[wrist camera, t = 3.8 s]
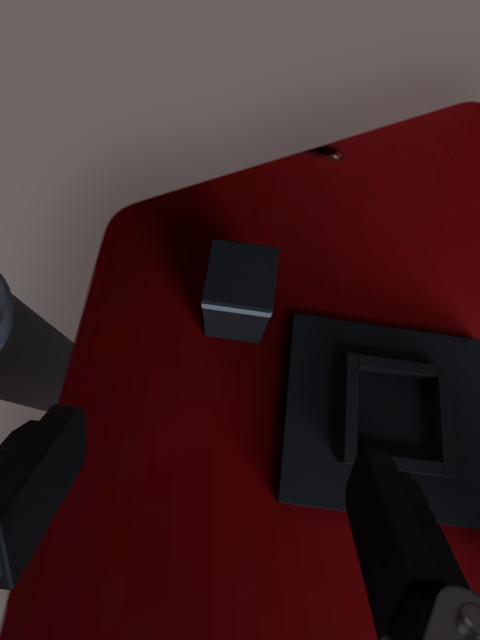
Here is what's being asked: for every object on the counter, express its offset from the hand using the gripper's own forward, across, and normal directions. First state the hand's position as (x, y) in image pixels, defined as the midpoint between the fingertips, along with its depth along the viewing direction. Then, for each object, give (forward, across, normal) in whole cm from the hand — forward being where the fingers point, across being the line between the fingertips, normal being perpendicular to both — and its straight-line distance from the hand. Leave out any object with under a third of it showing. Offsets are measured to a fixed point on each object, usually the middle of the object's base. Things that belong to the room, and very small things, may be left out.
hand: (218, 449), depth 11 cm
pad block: (+22, 0, +5) cm, 23 cm away
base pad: (+17, -13, +10) cm, 24 cm away
